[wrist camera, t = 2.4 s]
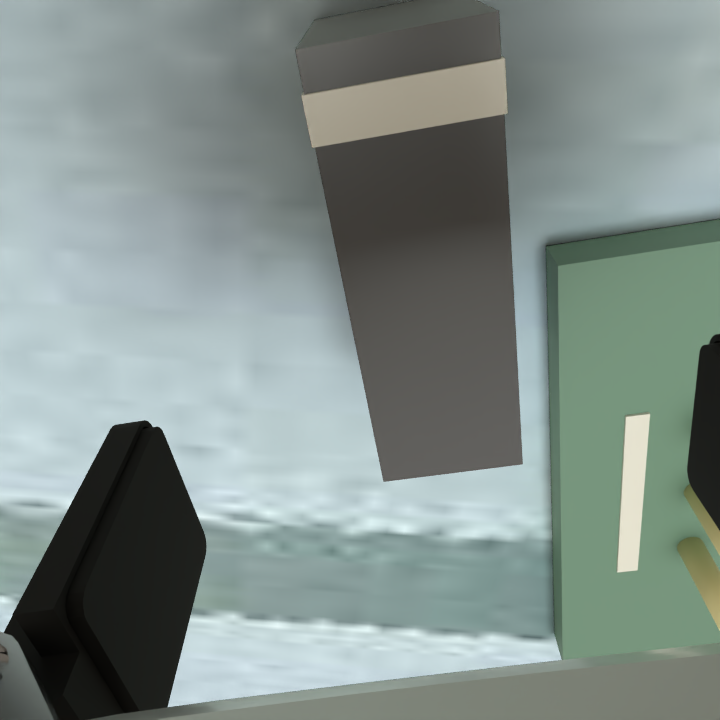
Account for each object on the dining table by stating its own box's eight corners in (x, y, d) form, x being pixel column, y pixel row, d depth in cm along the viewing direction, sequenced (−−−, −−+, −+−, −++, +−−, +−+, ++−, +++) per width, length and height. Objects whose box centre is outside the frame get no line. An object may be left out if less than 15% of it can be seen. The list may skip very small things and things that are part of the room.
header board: (545, 246, 21) (598, 332, 16) (880, 194, 20) (1039, 269, 15) (554, 633, 31) (588, 754, 27) (773, 611, 30) (847, 732, 26)
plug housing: (312, 20, 17) (291, 50, 12) (459, -9, 17) (502, 11, 12) (377, 364, 23) (381, 484, 18) (488, 348, 23) (525, 466, 18)
